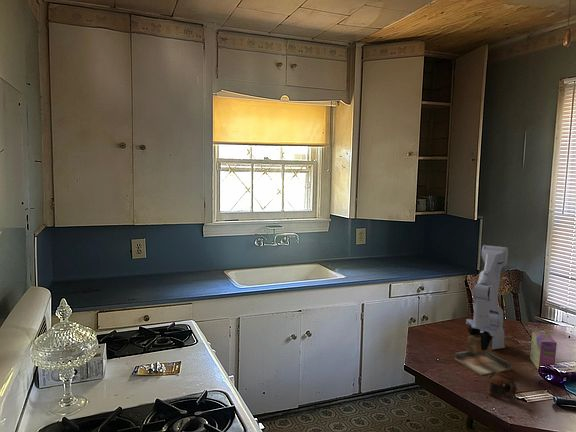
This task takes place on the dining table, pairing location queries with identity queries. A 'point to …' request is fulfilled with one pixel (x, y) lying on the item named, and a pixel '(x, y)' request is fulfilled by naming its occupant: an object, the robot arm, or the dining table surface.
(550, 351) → the box
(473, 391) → the dining table surface
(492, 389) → the pottery mug
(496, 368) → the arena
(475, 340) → the walnut block
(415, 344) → the dining table surface
